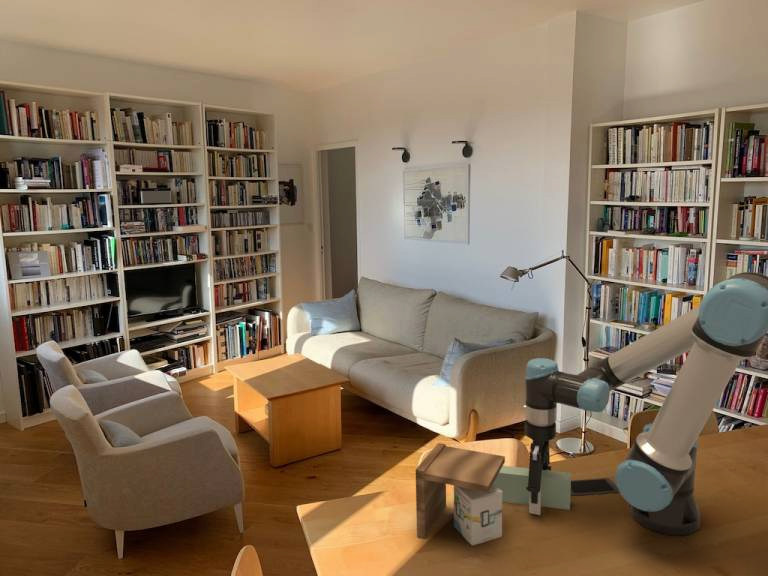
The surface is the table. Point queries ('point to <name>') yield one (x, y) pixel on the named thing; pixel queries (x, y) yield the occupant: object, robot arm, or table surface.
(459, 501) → the ink box
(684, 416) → the robot arm
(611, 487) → the cell phone
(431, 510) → the shelf
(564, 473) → the sage green box
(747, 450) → the table surface
